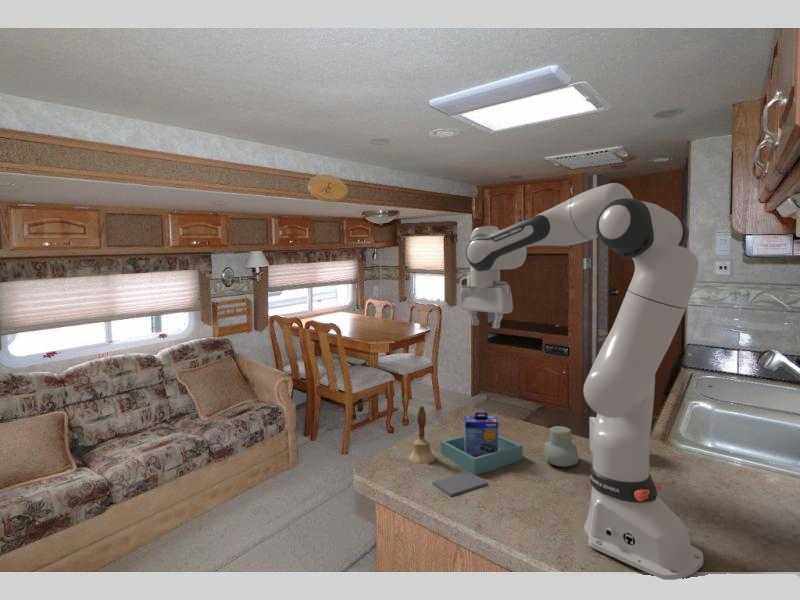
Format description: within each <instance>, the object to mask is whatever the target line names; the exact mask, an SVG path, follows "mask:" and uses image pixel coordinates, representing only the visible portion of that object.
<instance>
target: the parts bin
mask: <svg viewBox="0 0 800 600" xmlns="http://www.w3.org/2000/svg"><path fill="white" fill-rule="evenodd" d="M440 455H442V456H444V457H445V458H447V459H448V460H450V461H451V462H453V463H454V464H456V465H457V466H459V467H460V468H461V469H463V470H465V472H467V471H469V472H471V473H473V474H474V475H476V476H478V475H481V474H484V473H487V472H491V471H494V470H497V469H499V468H503V467H505V466H508V465H511V464H514V463H516V462H520V461H522V460H523V458H524V457H523V455H524V454H523V445H521V444H519V443H518V442H515V441H512V440H510V439H508V438H506V437H503V436H501V435H500V434H498V451H496V452H492V453H489V454H485V455H482V456H478V457H473V456H471V455H469V454H467V453H466V452H465V450H464V435H461V436H456V437H453V438H449V439H444V440H441V441H440Z"/></svg>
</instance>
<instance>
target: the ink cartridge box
mask: <svg viewBox="0 0 800 600" xmlns="http://www.w3.org/2000/svg"><path fill="white" fill-rule="evenodd" d="M498 435H499V421H498V418H497V416H495V415H488V412H475V414H474V415H466V416H464V417H463V436H464V448H463V450H464V452H466V453H467V454H469V455H471V456H473V457H478V456H482V455H485V454H489V453H492V452H496V451H499V448H498Z"/></svg>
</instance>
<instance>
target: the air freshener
mask: <svg viewBox="0 0 800 600" xmlns="http://www.w3.org/2000/svg"><path fill="white" fill-rule="evenodd" d="M543 454H544V458H545V459H544V460H545V461H546V462H547V463H548V464H550V465H552V466H555V467H559V468H567V467H568V468H569V467H572V466H574V465H576V464H578V461H579V454H578V449H577V446H576V445H575V444H574V443H572V429H571V428H568V427H566V426H560V425H559V426H558V425H555V426H552V427H550V428H549V441H546V442H545V443H543Z"/></svg>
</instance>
